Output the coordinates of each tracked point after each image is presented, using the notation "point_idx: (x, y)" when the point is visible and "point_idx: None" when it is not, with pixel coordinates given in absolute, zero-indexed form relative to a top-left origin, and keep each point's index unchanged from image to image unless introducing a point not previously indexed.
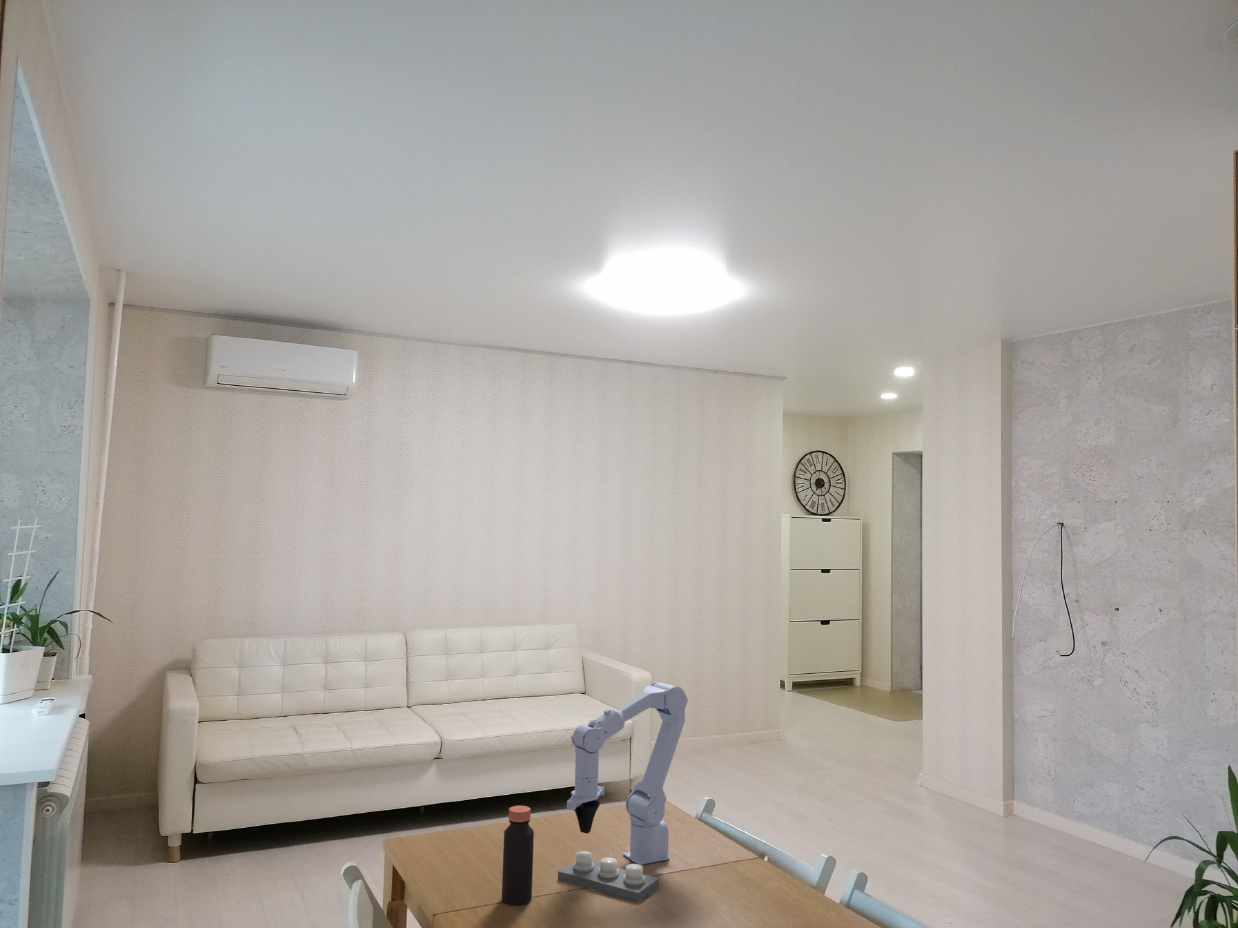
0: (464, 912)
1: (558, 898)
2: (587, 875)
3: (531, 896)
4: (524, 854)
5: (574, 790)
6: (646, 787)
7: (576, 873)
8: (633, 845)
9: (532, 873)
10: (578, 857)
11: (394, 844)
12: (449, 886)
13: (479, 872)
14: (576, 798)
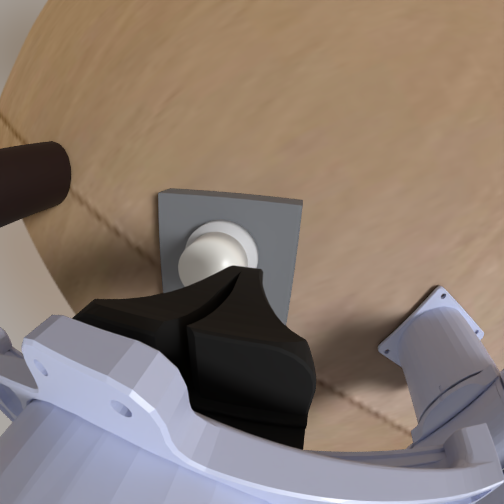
0: (4, 137)
1: (96, 247)
2: (182, 286)
3: (56, 204)
4: None
5: (127, 390)
6: None
7: (175, 252)
8: (417, 350)
9: (20, 217)
10: (180, 262)
11: None
12: (51, 31)
13: (119, 4)
14: (11, 410)
